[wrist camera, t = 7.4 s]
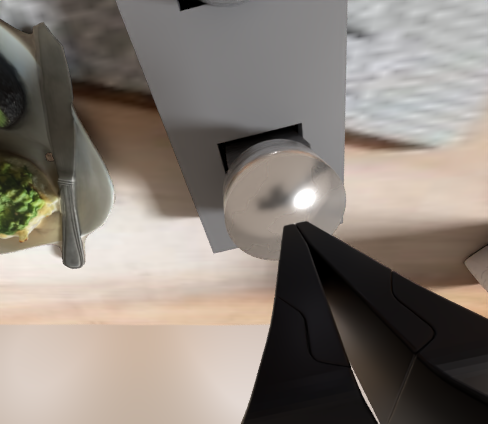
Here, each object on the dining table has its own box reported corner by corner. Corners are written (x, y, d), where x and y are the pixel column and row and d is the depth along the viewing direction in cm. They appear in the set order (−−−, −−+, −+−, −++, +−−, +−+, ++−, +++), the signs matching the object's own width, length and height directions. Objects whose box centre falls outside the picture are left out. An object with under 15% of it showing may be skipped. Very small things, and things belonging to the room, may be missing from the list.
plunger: (296, 109, 15) (347, 140, 9) (303, 186, 18) (344, 245, 12) (211, 131, 15) (208, 174, 9) (231, 203, 18) (239, 270, 12)
